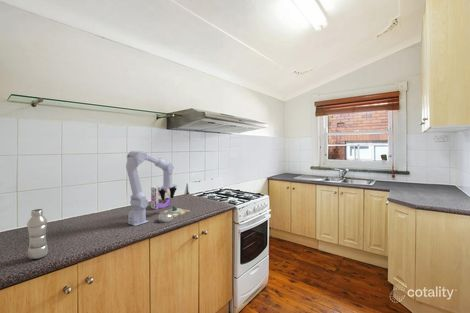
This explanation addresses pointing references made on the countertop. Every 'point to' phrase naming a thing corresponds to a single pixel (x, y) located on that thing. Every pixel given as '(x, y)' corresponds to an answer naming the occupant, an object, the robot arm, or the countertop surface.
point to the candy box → (159, 198)
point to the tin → (165, 217)
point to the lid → (174, 210)
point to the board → (177, 213)
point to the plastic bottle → (37, 235)
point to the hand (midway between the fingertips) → (167, 199)
